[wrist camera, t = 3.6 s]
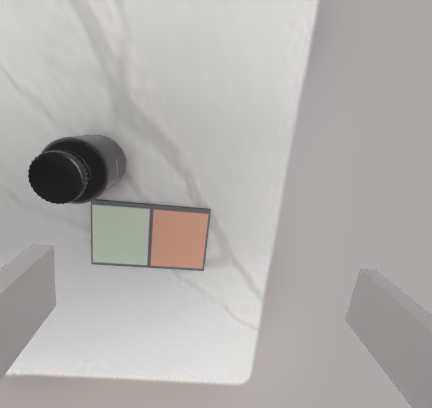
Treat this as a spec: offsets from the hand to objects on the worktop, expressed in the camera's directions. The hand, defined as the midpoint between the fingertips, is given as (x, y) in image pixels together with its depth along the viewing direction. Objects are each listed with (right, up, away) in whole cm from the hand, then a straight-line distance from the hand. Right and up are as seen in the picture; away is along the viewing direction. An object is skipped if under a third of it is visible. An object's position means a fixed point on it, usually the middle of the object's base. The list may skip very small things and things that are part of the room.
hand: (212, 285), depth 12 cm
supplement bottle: (-15, +9, +24) cm, 30 cm away
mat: (-9, -1, +27) cm, 29 cm away
